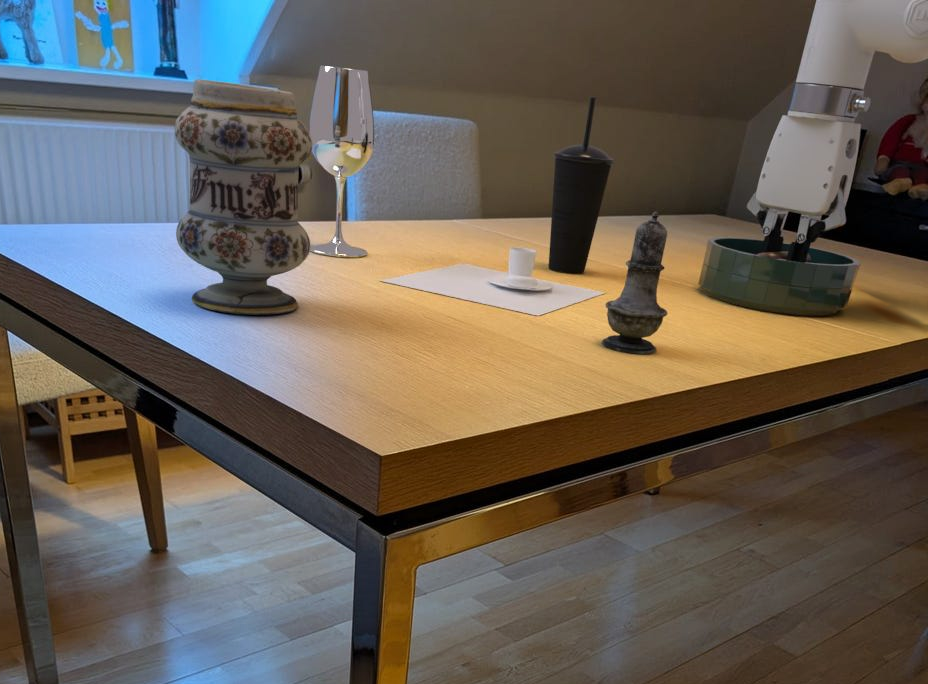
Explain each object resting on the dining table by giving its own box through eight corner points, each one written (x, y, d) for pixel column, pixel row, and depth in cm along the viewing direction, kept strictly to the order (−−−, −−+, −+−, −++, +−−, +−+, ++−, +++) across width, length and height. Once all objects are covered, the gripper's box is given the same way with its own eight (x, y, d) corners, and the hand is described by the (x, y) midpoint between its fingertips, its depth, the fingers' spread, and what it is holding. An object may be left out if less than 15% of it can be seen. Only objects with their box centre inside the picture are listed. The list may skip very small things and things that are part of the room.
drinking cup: (535, 271, 119) (560, 93, 108) (540, 262, 125) (563, 94, 115) (593, 278, 118) (624, 101, 108) (595, 269, 124) (624, 100, 114)
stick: (792, 271, 119) (797, 248, 118) (811, 275, 117) (817, 251, 116) (742, 275, 112) (748, 251, 111) (762, 279, 110) (768, 254, 109)
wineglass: (376, 252, 119) (385, 73, 108) (357, 260, 112) (366, 70, 102) (319, 243, 120) (323, 65, 109) (297, 251, 113) (300, 63, 103)
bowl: (815, 293, 126) (829, 247, 123) (866, 324, 110) (884, 271, 107) (683, 279, 125) (694, 232, 122) (716, 307, 109) (729, 254, 106)
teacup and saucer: (532, 298, 103) (538, 259, 101) (471, 284, 106) (475, 247, 104) (563, 289, 110) (568, 252, 107) (504, 276, 112) (508, 241, 110)
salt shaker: (586, 342, 87) (610, 205, 81) (620, 335, 91) (645, 204, 85) (638, 357, 84) (667, 216, 78) (670, 350, 88) (701, 215, 82)
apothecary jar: (334, 313, 87) (342, 95, 78) (227, 324, 80) (220, 84, 70) (261, 286, 94) (260, 83, 85) (155, 294, 86) (141, 72, 77)
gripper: (905, 114, 102) (852, 285, 112) (779, 101, 112) (739, 260, 122) (875, 110, 98) (822, 288, 108) (745, 97, 108) (707, 262, 117)
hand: (778, 272), depth 115 cm, fingers closed on stick, 2 cm apart
